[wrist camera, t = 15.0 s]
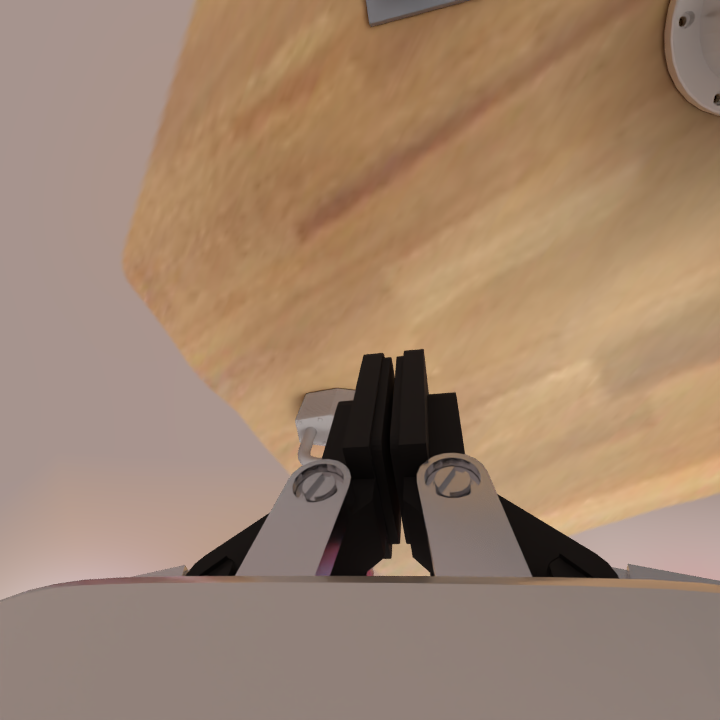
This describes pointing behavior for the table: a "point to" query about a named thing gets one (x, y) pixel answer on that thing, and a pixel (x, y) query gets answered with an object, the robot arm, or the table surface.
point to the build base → (402, 9)
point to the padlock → (317, 419)
